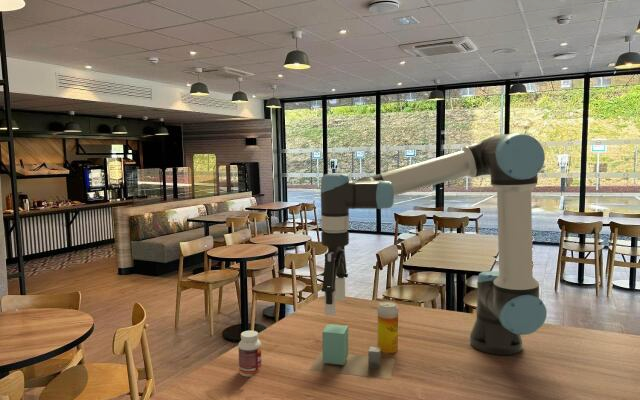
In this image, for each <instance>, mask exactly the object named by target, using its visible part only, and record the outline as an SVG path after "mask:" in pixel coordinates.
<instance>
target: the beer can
mask: <svg viewBox="0 0 640 400" xmlns="http://www.w3.org/2000/svg"><path fill="white" fill-rule="evenodd" d="M376 330H377V332H376V335H377V337H376V338H377V341H376V344H377V345H376V346H377V347H379V348H381V353H383V354H394V353H396V352H397V351H398V350H399V348H398V347H399V345H398V344H399V307H398V304H397V303H396V302H395V301H391V300H389V301H388V300H386V301H385V300H384V301H380V302H378V306H377V329H376Z"/></svg>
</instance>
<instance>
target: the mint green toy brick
mask: <svg viewBox="0 0 640 400" xmlns="http://www.w3.org/2000/svg"><path fill="white" fill-rule="evenodd" d="M321 334H322V335H321V336H322V351H323V363H332V364H340V365H344V364H345V361H346V359H347V357H348V354H349V325H343V324H333V323H332V324H331V323H328V324H326V326H325V327H324V328H323V330H322V333H321Z"/></svg>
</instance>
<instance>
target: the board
mask: <svg viewBox="0 0 640 400" xmlns="http://www.w3.org/2000/svg"><path fill="white" fill-rule="evenodd" d="M395 360H396V359H395V358H386V357H381V366H380V369H379V370H376V369H368V355H359V354H358V355H357V354H350V353H348V357H347V359H346V361H345V364H344V365H332V364H329V363H323V350H322V351H319V353H318V354H317V356H316V358H315V359H314V361H313V363H312V365H311V366H310V368H309V371H316V372H325V373H333V374H340V375H349V376H358V377H359V376H360V377H367V378H375V379H383V380H391V379H392V374H393V369H394V366H395Z"/></svg>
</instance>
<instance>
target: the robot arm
mask: <svg viewBox="0 0 640 400" xmlns="http://www.w3.org/2000/svg"><path fill="white" fill-rule="evenodd" d="M545 159H546V156H545V150H544V147H543V146H542V144H541V142H539V140H537V138H535V137H534V136H532V135H529V134H525V133H519V132H513V133H507V134H505V133H504V134H497V135H493V136H490V137H488V138H485V139H482V140H480V141H477V142H475V143H472V144H469V145H465V146H463V147H462V149H461V150H460V151H456V152H453V153H449V154H445V155H441V156H438V157H436V158H431V159H428V160H423V161H421V162H417V163H413V164H409V165H406V166H403V167H399V168H396V169H392V170H389V171H385V172H381V173H380V174H379V173H378V174H374V175H371V176H363V177H361V178H358V179H357V180H355V181H354V180H350V176H349V175H348V174H347V173H326V174H324V175H322V177H320V178H321V179H320V180H321V181H320V183H321V184H320V209H321V212H320V215H321V217H320V218H319V222H321V225H320V226H321V230H322V232H321V233H320V234H321V236H320V237H321V238H320V239H321V241H320V243H321V245H322V246H323V247H324V246H325V247H328V251H327V252H326V253H324V268H323V276H322V277H323V278H322V287H321V289H320V290H321V292H323V293H324V316H332V317H335V316H336V301H346V278H349V273H348V270H347V262H346V252H345V247H346V246H348V245H349V244H350V234H349V233H350V232H349V229H350V215H349V214H350V212H349V211H350V209H351V210H355V209H366V210H367V209H368V210H369V209H374V210H377V209H378V210H381V209H390V208H392V207H393V205H394V202H395V201H394V200H395V196H398V195H402V194H405V193H409V192H412V191H417V190H420V189H424V188H427V187H431V186H436V185H438V184H441V183H446V182H449V181H453V180H457V179H460V178H464V177H467V176H468V177H471V178H473V179H474V178H477V177H481V176H490V185H491V187H492V188H494V189H495V191H496V198H497V199H496V200H497V201H496V203H497V239H498V241H497V244H498V247H497V249H498V271H497V270H496V271H495V270H490V271H489V270H488V271H483V272H480V273H479V274H478V275H477V282H476V284H477V288H476V289H477V290H476V291H477V292H476V293H477V294H476V318H475V322H474V323H473V326H472V328H471V331H470V334H469V343H470V345H471V346H472V347H473V348H474V349H476V350H479V351H480V352H483V353H487V354H491V355H498V356H510V355H511V356H512V355H515V354H518V353H521V351H522V350H523V340H522V337H521V336H526V335H531V334H533V333H535V332H537V331H538V330H539V329H540V328H542V326H543V325H544V324H545V322H546V319H547V312H548V311H547V307H546V306H545V303H544V302H543V301H542V299H541V298H540V284H539V281H538V280H537V279H536V278H534V274H533V233H532V232H533V227H532V226H533V223H532V221H533V214H532V212H533V211H532V210H533V209H532V207H533V205H532V191H533V189H534V187H536V186H537V185H538V174H539V172H540V171H541V170H542V168H543V167H544V164H545Z"/></svg>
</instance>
